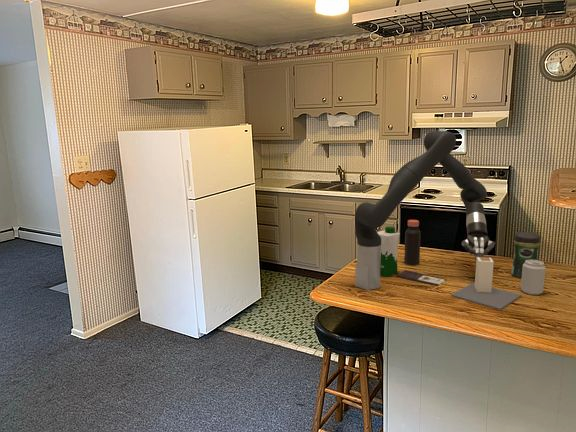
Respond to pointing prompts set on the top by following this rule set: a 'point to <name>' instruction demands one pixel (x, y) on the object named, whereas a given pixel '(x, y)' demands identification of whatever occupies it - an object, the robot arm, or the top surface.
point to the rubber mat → (487, 297)
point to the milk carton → (389, 251)
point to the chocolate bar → (421, 278)
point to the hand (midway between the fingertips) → (480, 262)
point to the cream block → (484, 274)
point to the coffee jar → (524, 250)
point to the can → (533, 277)
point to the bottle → (412, 243)
